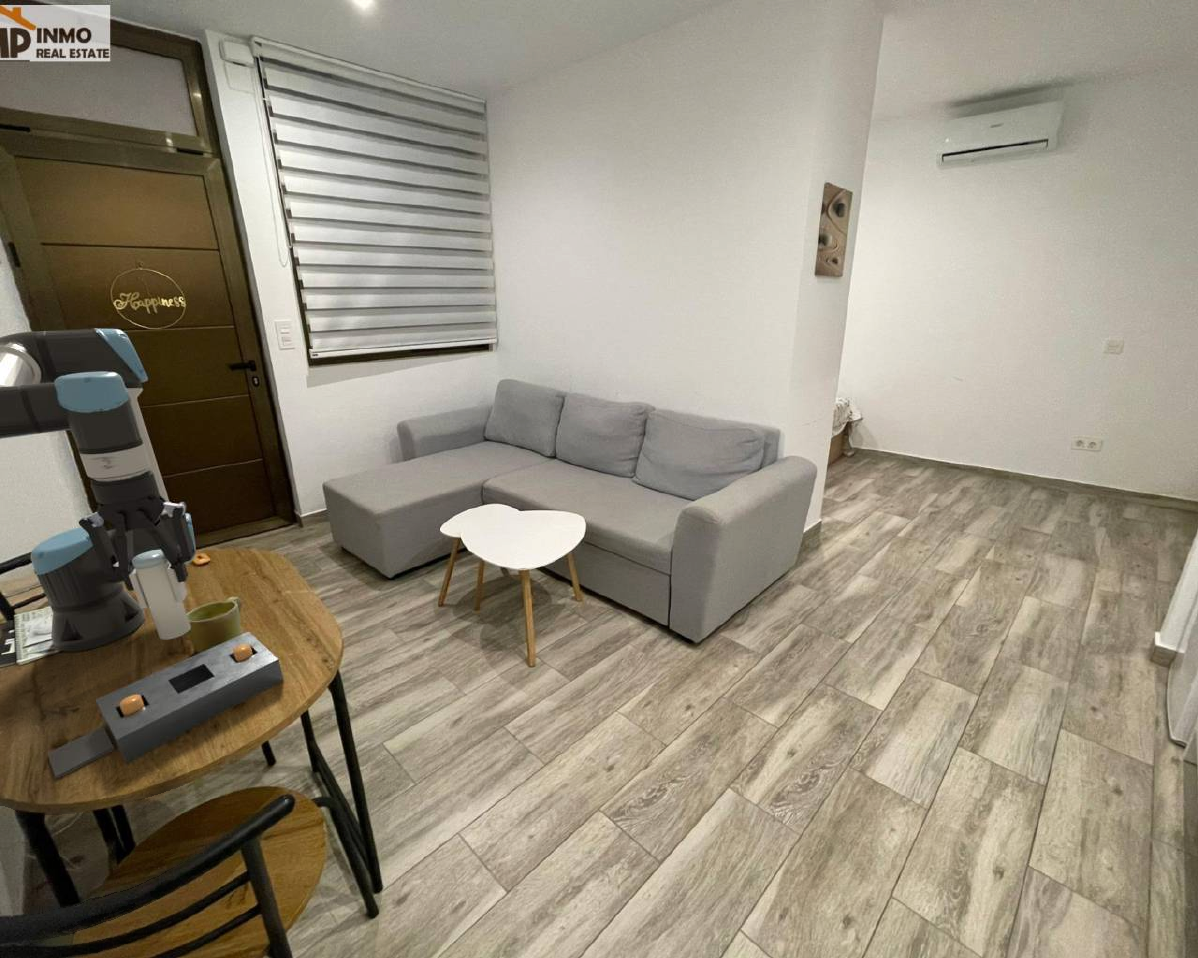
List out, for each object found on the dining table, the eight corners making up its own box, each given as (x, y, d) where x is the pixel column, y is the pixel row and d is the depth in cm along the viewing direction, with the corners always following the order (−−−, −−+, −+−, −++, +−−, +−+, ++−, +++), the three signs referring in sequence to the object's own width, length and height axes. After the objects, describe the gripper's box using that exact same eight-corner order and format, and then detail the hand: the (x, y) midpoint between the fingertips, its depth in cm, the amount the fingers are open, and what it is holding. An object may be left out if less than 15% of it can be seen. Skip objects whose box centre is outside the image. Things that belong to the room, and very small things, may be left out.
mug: (218, 656, 106) (202, 610, 105) (183, 663, 109) (167, 617, 108) (270, 630, 118) (256, 588, 117) (237, 637, 120) (223, 596, 120)
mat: (48, 755, 86) (47, 753, 86) (104, 729, 91) (103, 726, 91) (56, 779, 82) (55, 776, 82) (114, 749, 87) (113, 746, 87)
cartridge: (154, 642, 89) (126, 565, 84) (164, 627, 93) (137, 552, 88) (187, 635, 91) (161, 560, 86) (194, 621, 95) (170, 547, 90)
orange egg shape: (238, 673, 103) (230, 649, 101) (253, 666, 105) (247, 642, 103) (243, 679, 102) (236, 655, 100) (259, 671, 104) (252, 647, 102)
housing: (105, 721, 93) (95, 699, 91) (254, 651, 110) (248, 631, 109) (126, 763, 84) (116, 739, 83) (283, 679, 102) (278, 659, 100)
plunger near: (128, 727, 91) (117, 701, 89) (148, 717, 93) (138, 692, 91) (132, 735, 89) (121, 709, 87) (153, 725, 91) (142, 699, 89)
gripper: (34, 489, 75) (90, 625, 84) (180, 473, 81) (219, 601, 90) (61, 473, 82) (110, 600, 90) (194, 459, 88) (229, 580, 96)
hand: (164, 600), depth 90 cm, fingers closed on cartridge, 4 cm apart
